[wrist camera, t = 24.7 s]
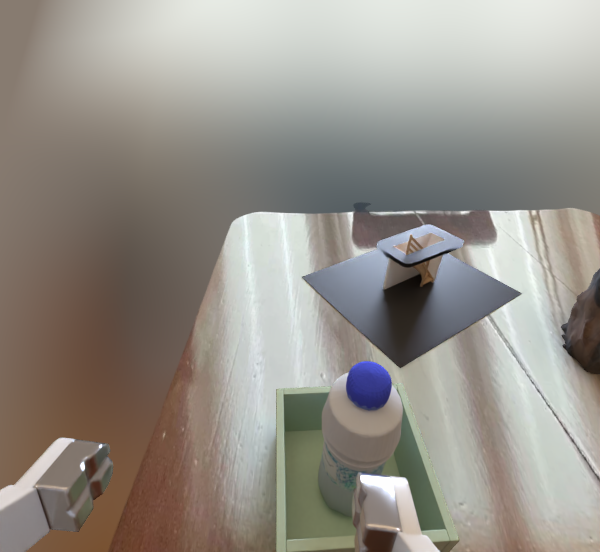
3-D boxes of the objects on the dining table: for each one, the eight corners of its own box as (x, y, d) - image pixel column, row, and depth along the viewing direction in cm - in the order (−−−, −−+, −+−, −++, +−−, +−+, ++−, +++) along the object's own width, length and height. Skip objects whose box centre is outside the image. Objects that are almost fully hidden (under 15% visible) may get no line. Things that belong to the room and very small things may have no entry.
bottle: (314, 455, 38) (324, 339, 27) (370, 456, 38) (405, 340, 27) (316, 523, 33) (328, 415, 21) (381, 525, 33) (430, 417, 21)
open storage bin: (279, 582, 30) (275, 553, 25) (278, 430, 42) (276, 388, 37) (431, 571, 31) (460, 540, 26) (388, 424, 43) (402, 383, 37)
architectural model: (400, 368, 50) (421, 297, 42) (302, 276, 69) (303, 216, 61) (521, 293, 66) (555, 231, 57) (414, 235, 85) (427, 182, 76)
